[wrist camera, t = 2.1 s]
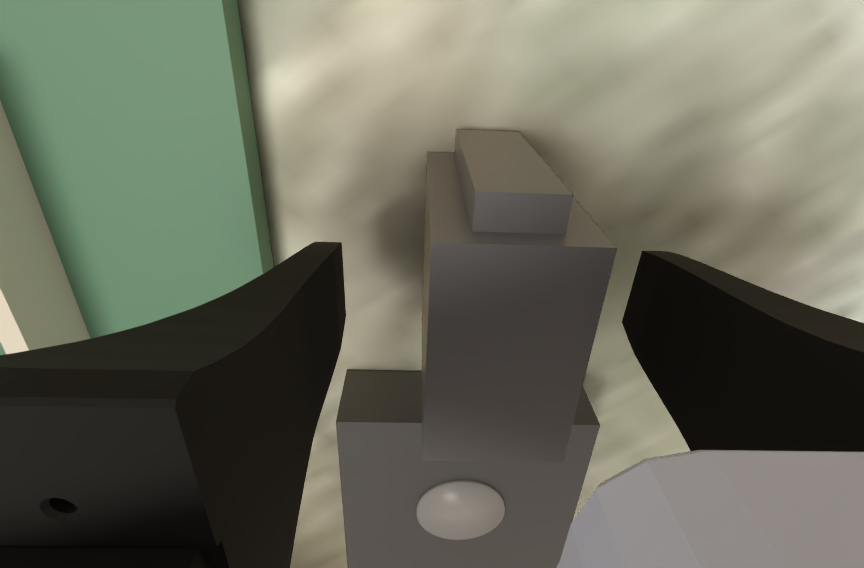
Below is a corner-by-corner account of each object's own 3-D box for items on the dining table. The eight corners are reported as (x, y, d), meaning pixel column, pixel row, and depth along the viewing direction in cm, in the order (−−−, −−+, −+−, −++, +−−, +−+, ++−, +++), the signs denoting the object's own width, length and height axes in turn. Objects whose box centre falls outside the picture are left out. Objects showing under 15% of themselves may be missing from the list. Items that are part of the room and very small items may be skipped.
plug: (514, 310, 15) (563, 462, 10) (422, 308, 15) (422, 460, 10) (541, 128, 13) (627, 206, 7) (428, 124, 12) (432, 199, 7)
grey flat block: (542, 518, 20) (557, 579, 18) (355, 518, 20) (347, 580, 18) (588, 323, 16) (617, 374, 13) (343, 318, 15) (330, 369, 13)
